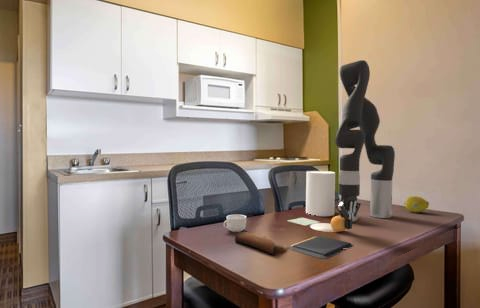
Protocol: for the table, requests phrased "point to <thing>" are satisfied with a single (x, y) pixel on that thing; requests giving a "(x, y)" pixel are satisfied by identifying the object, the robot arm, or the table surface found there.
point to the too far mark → (303, 221)
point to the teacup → (235, 223)
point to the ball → (338, 223)
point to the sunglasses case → (260, 243)
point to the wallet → (320, 247)
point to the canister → (320, 193)
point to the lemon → (416, 204)
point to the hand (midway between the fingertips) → (348, 228)
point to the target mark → (322, 227)
